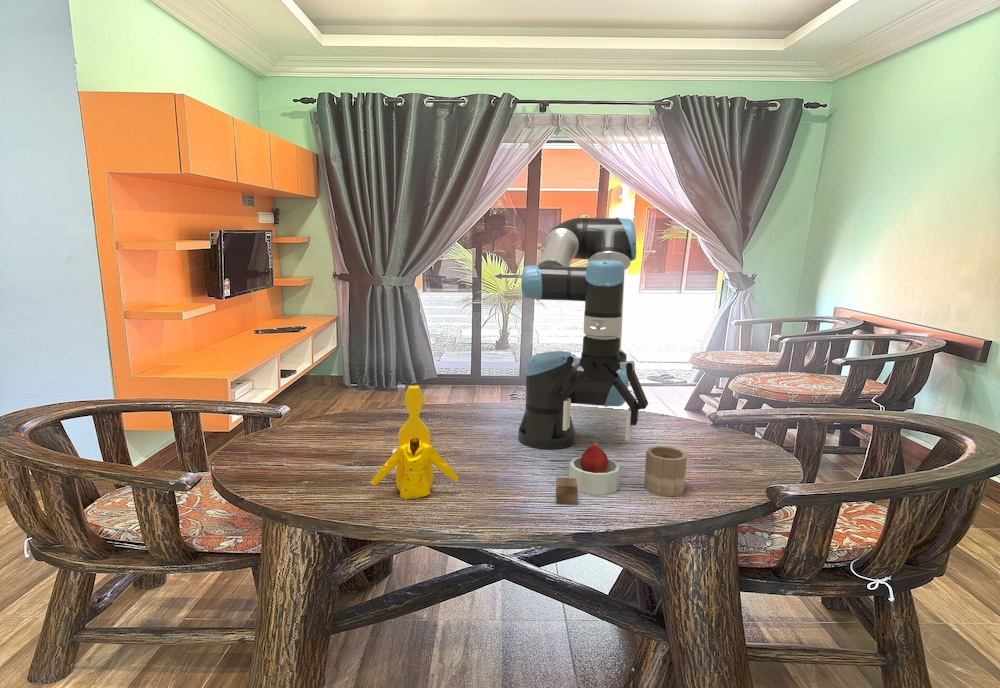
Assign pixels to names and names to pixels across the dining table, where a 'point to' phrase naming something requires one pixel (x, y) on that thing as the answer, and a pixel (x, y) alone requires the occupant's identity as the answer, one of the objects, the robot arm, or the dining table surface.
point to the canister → (665, 470)
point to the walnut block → (566, 491)
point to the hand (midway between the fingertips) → (596, 433)
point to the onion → (594, 459)
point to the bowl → (595, 478)
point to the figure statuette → (414, 453)
